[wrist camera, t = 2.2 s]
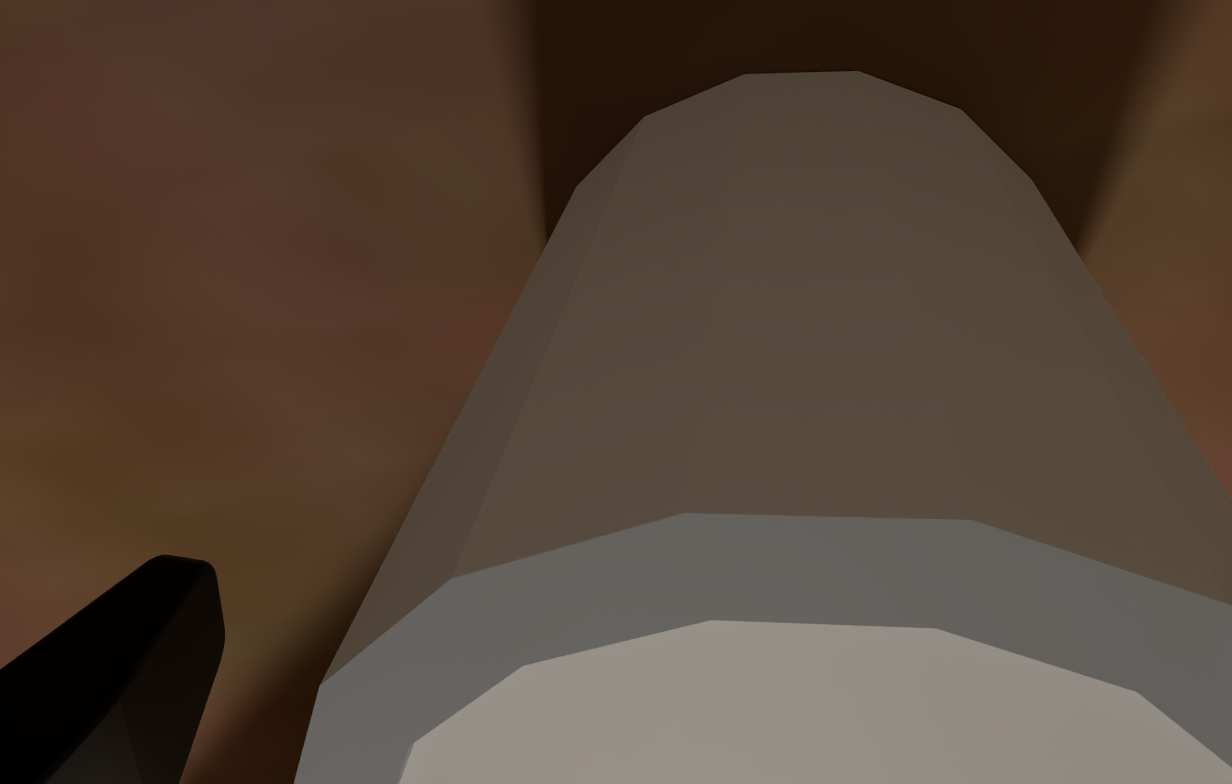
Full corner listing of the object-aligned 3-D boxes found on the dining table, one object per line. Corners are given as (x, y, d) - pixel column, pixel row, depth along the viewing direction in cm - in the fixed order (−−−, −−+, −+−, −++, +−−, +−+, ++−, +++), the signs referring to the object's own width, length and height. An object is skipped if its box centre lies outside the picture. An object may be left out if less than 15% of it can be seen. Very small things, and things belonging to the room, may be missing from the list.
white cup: (918, -155, 10) (1096, 277, 4) (1224, 379, 13) (1561, 1040, 7) (371, 239, 13) (66, 784, 7) (718, 595, 16) (686, 1174, 10)
